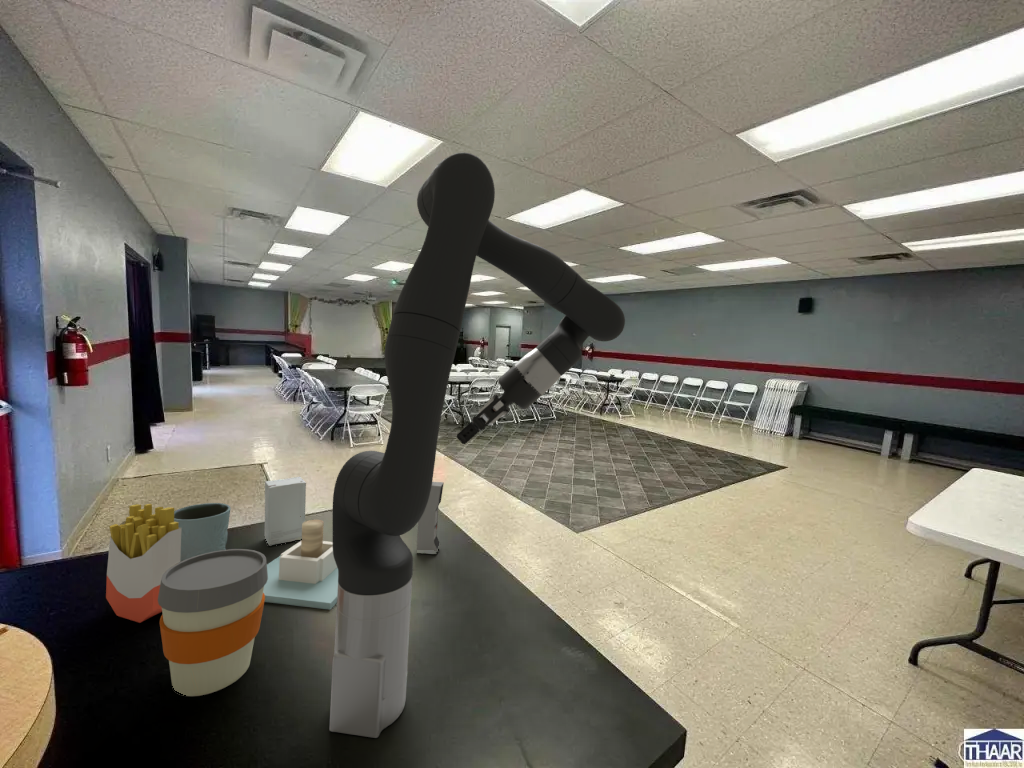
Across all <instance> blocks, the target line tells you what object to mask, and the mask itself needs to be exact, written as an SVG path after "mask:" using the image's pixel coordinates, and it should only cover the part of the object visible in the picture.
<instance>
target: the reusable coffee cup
mask: <svg viewBox="0 0 1024 768" xmlns="http://www.w3.org/2000/svg"><path fill="white" fill-rule="evenodd" d="M267 564H268V563H267V557H266V556H265V554H264V553H262V552H260V551H257V550H253V549H247V548H229V549H226V550H220V551H214V552H209V553H205V554H201V555H197V556H194V557H191V558H189V559H186V560H184V561H181V562H179V563H177V564H175V565H174V566H172V567H170V568H169V569H168V570H167V571H166V572H165V573H164V574H163V575H162V578H161V584H160V589H159V595H158V604H159V605H160V606H161V607H162V612H161V613H162V614H161V616H160V618H159V627H160V628H159V629H160V635H161V642H162V651H163V655H164V657H165V658H166V660H168V664H169V665H168V666H169V672H170V680H171V686H173V687H172V689H173V688H174V690H175V691H177V692H179V693H181V694H183V695H182V696H184V695H186V696H185V697H200V696H203V695H204V696H205V695H209V694H212V693H214V692H218V691H221V690H222V689H225V688H226V687H228V686H230V685H232V684H233V683H235V682H237V681H238V680H239V679H240V678H242V676H243V675H244V674H245V673H246V672H247V670H248V669H249V667H250V664H251V659H252V654H253V647H254V643H255V637H257V635H258V633H259V632H260V631H259V630H260V627H261V621H262V616H263V611H264V607H265V602H264V601H265V594H264V593H263V590H264V585H265V584H266V583H267V580H268V573H267ZM174 690H173V691H174ZM175 691H174V692H175Z"/></svg>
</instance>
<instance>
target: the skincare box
mask: <svg viewBox="0 0 1024 768" xmlns="http://www.w3.org/2000/svg"><path fill="white" fill-rule="evenodd" d="M306 492H307V482H306V481H305V480H304V479H303V477H301V476H296V477H295V476H294V477H289V478H283V479H280V478H279V479H274V480H265V481H264V536H265V538H264V540H265V539H266V540H265V542H266V541H267V542H266V544H267V543H268V544H269V545H270V544H275V543H280V542H284V541H287V540H290V539H295V538H298V537H302V523H303V522H305V521H306V502H307V501H306V496H307V493H306ZM300 516H301V517H300Z"/></svg>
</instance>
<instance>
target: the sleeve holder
mask: <svg viewBox="0 0 1024 768" xmlns="http://www.w3.org/2000/svg"><path fill="white" fill-rule="evenodd" d="M267 573H268V580H267V583H266V584H265V585H264V590H263V593H264V594H265V601H264V603H271V604H272V603H273V604H279V605H280V604H281V605H288V606H289V605H290V606H297V607H306V608H313V609H322V610H332V609H333V608H334V607H335V605H337V593H338V568H337V565H336V562H335V559H334V556H333V541H327V540H323V548H322V555H321V556H320V557H318V558H311V557H301V540H300V541H297V543H296V544H294V545H292V546H291V547H290V548H288V549H286V550H285V551H283V552H282V553H280V555H279V556H278V557H276V558H274V559H273V560H272V561H270V562H268V563H267Z"/></svg>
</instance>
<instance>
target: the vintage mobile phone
mask: <svg viewBox="0 0 1024 768" xmlns="http://www.w3.org/2000/svg"><path fill="white" fill-rule="evenodd" d="M443 490H444V482H443V481H432V486H431V491H430V496H429V500H428V503H427V506H426V508H425V511H424V513H423V515H422V517H421V518H420V520H419V521H418V523H417V536H416V537H417V538H416V539H417V540H416V551H417V550H434V551H437V549H438V546H439V543H440V541H439V538H438V523H439V520H438V519H439V505H441V502H442V497H443V496H442V495H443Z"/></svg>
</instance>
